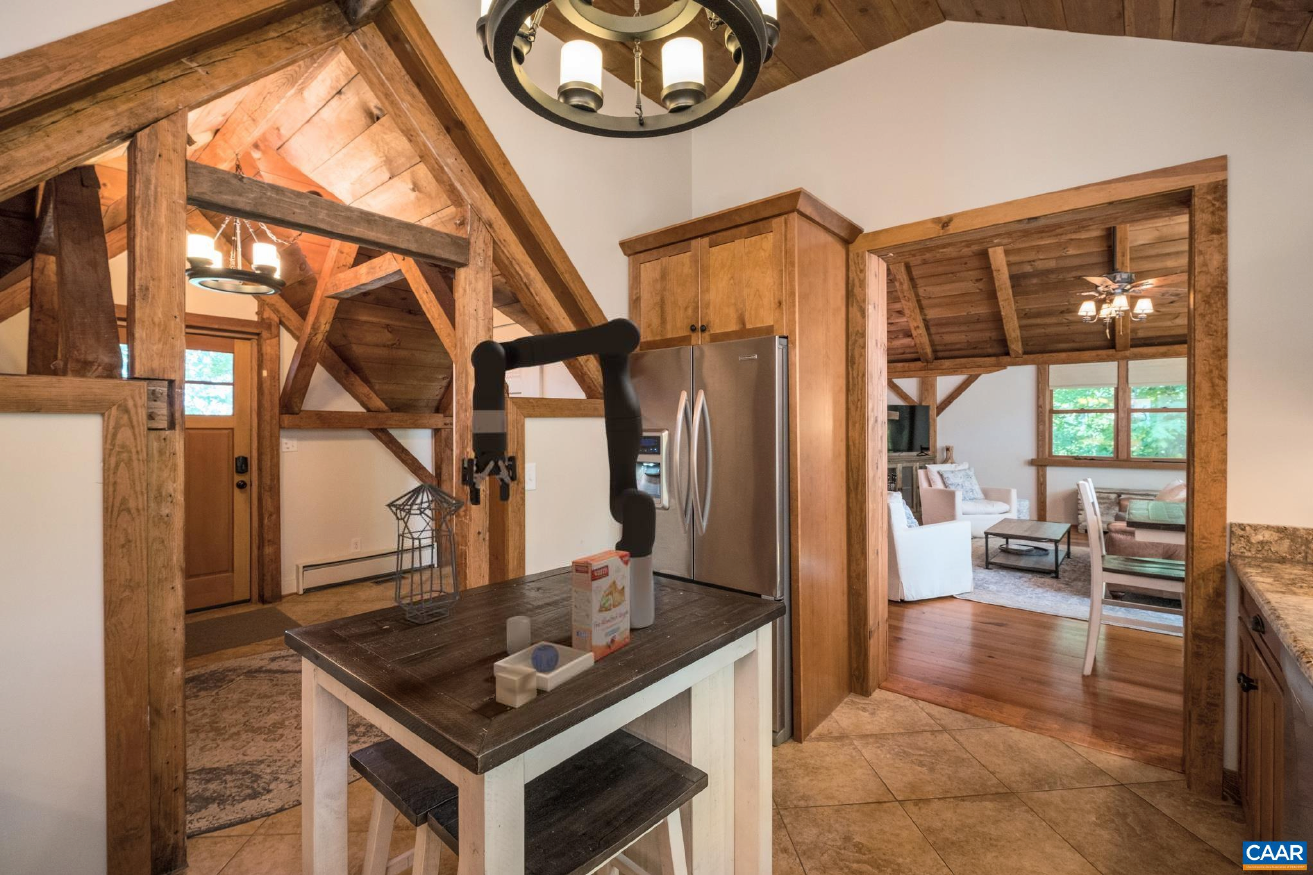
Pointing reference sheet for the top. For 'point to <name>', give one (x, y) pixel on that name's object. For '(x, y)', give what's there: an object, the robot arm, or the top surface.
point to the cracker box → (601, 602)
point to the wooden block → (516, 685)
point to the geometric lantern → (433, 491)
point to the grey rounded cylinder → (518, 634)
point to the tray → (566, 668)
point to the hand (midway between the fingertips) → (490, 502)
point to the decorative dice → (545, 658)
